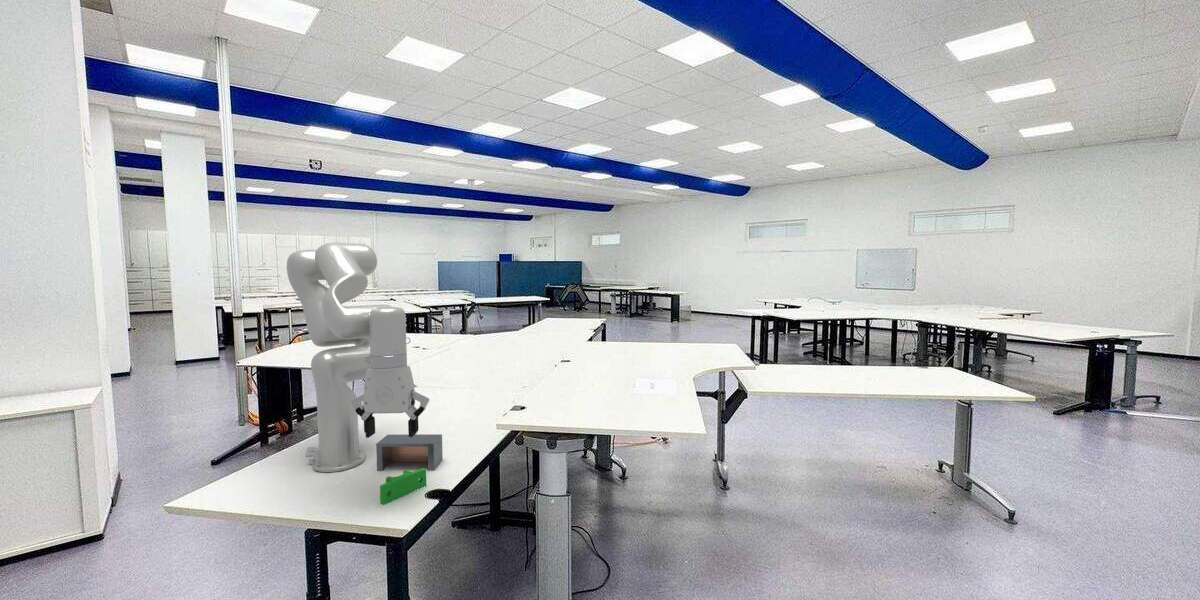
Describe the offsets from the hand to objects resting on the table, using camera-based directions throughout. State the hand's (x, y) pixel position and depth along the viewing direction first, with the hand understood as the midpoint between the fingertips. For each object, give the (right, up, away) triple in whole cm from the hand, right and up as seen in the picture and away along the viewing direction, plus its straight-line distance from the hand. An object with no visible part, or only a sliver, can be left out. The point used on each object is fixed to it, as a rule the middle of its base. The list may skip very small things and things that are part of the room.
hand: (391, 435), depth 105 cm
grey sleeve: (-4, -14, +19) cm, 23 cm away
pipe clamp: (+1, -15, +4) cm, 16 cm away
